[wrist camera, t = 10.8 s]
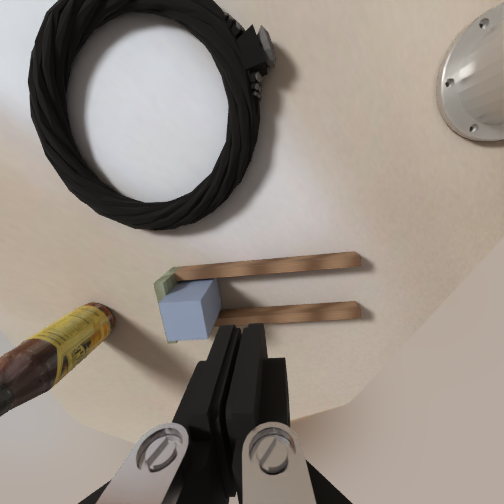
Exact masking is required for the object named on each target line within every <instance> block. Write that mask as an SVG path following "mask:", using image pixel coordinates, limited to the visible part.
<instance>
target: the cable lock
mask: <svg viewBox="0 0 504 504" xmlns="http://www.w3.org/2000/svg"><path fill="white" fill-rule="evenodd" d="M129 12H139V13H151V14H156V15H160V16H163V17H167V18H170V19H174V20H176V21H177V22H179V23H181V24H182V25H183V26H184V27H186V28H187V29H188V30H189V31H190V32H191V33H192V34H193V35H194V36H195V37H196V38H197V39H199V40H200V41H201V42H202V43H203V44H204V45H205V46H206V48H207V49H208V51H209V52H210V53H211V55H212V57H213V59H214V62H215V64H216V66H217V68H218V70H219V72H220V74H221V76H222V80H223V84H224V87H225V91H226V95H227V99H228V105H229V109H228V124H227V136H226V143H225V145H224V147H223V149H222V151H221V153H220V156H219V158H218V160H217V162H216V164H215V166H214V169H213V171H212V173H211V174H210V175H209V176H208V177H207V178H206V179H205V180H203V181H202V182H201V183H200V184H199V185H198V186H197V187H196V188H195V189H194V190H193V191H192V192H190V193H188V194H186V195H184V196H181V197H179V198H177V199H174V200H172V201H168V202H153V203H144V202H141V201H137V200H134V199H131V198H127V197H124V196H121V195H120V194H118V193H117V192H115V191H114V190H112V189H111V188H109V187H108V186H107V185H105V184H104V183H102V182H101V181H100V180H99V179H98V177H97V176H96V175H95V174H94V173H93V172H92V171H91V170H90V169H89V167H88V166H87V165H86V163H85V162H84V160H83V159H82V157H81V155H80V153H79V151H78V149H77V147H76V145H75V142H74V140H73V137H72V134H71V131H70V126H69V120H68V115H67V107H66V96H65V95H66V89H67V84H68V79H69V74H70V69H71V65H72V62H73V59H74V57H75V56H76V54H77V53H78V51H79V50H80V48H81V47H82V45H83V44H84V42H85V41H86V39H87V38H88V37H89V36H90V35H91V33H92V32H93V31H94V30H95V29H97V28H98V27H100V26H101V25H103V24H105V23H106V22H108V21H109V20H111V19H114V18H116V17H118V16H121V15H123V14H126V13H129ZM275 61H276V59H275V53H274V48H273V45H272V42H271V39H270V36H269V33H268V32H267V31H266V30H265V28H264V27H263V26H262V25H261V27H260V29H259V32H258V34H257V35H256V32H255V30H254V27H253V24H252V25H251V26H250V27H249V28H248V29H247V30H246V31H245V29H244V28H243V27H242V26H241V25H240V24H239V23H238V22H237V21H236V20H235V19H234V18H233V17H231V16H230V15H229V14H228V13H225V12H223V11H222V9H221V8H220V7H219V6H218V5H217V4H216V3H215V2H214V1H213V0H58V1H57V2H56V3H55V4H54V5H53V6H52V7H51V8H50V9H49V10H48V11H47V12H46V15H45V17H44V20H43V22H42V25H41V27H40V30H39V32H38V35H37V37H36V40H35V45H34V48H33V50H32V52H31V60H30V68H29V76H28V86H29V92H30V110H31V118H32V121H33V123H34V126H35V128H36V131H37V133H38V136H39V138H40V141H41V144H42V147H43V149H44V152H45V155H46V157H47V158H48V160H49V161H50V163H51V164H52V166H53V167H54V169H55V170H56V172H57V173H58V175H59V176H60V178H61V179H62V180H63V182H64V183H65V185H66V186H67V188H68V189H69V190H70V191H71V192H72V193H73V194H74V195H75V196H76V197H77V198H78V199H80V200H81V201H82V202H84V203H85V204H87V205H88V206H89V207H91V208H92V209H93V210H94V211H95V212H97V213H98V214H99V215H102V216H104V217H107V218H109V219H112V220H114V221H117V222H119V223H122V224H124V225H127V226H129V227H132V228H134V229H150V230H168V229H175V228H177V227H180V226H183V225H188V224H192V223H195V222H197V221H199V220H200V219H202V218H204V217H205V216H207V215H209V214H210V213H212V212H213V211H214V210H216V209H217V208H218V207H219V206H220V205H221V204H222V203H223V202H224V201H226V200H227V198H228V197H229V196H230V194H231V193H232V192H233V190H234V189H235V188H236V187H237V185H238V184H239V183H240V182H241V181H242V178H243V176H244V174H245V172H246V170H247V168H248V165H249V163H250V161H251V158H252V154H253V151H254V147H255V144H256V142H257V136H258V129H259V122H260V107H259V102H260V101H261V96H260V95H261V86H262V76H263V75H266V74H267V65H268V66H270V67H273V68H274V66H275Z"/></svg>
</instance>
